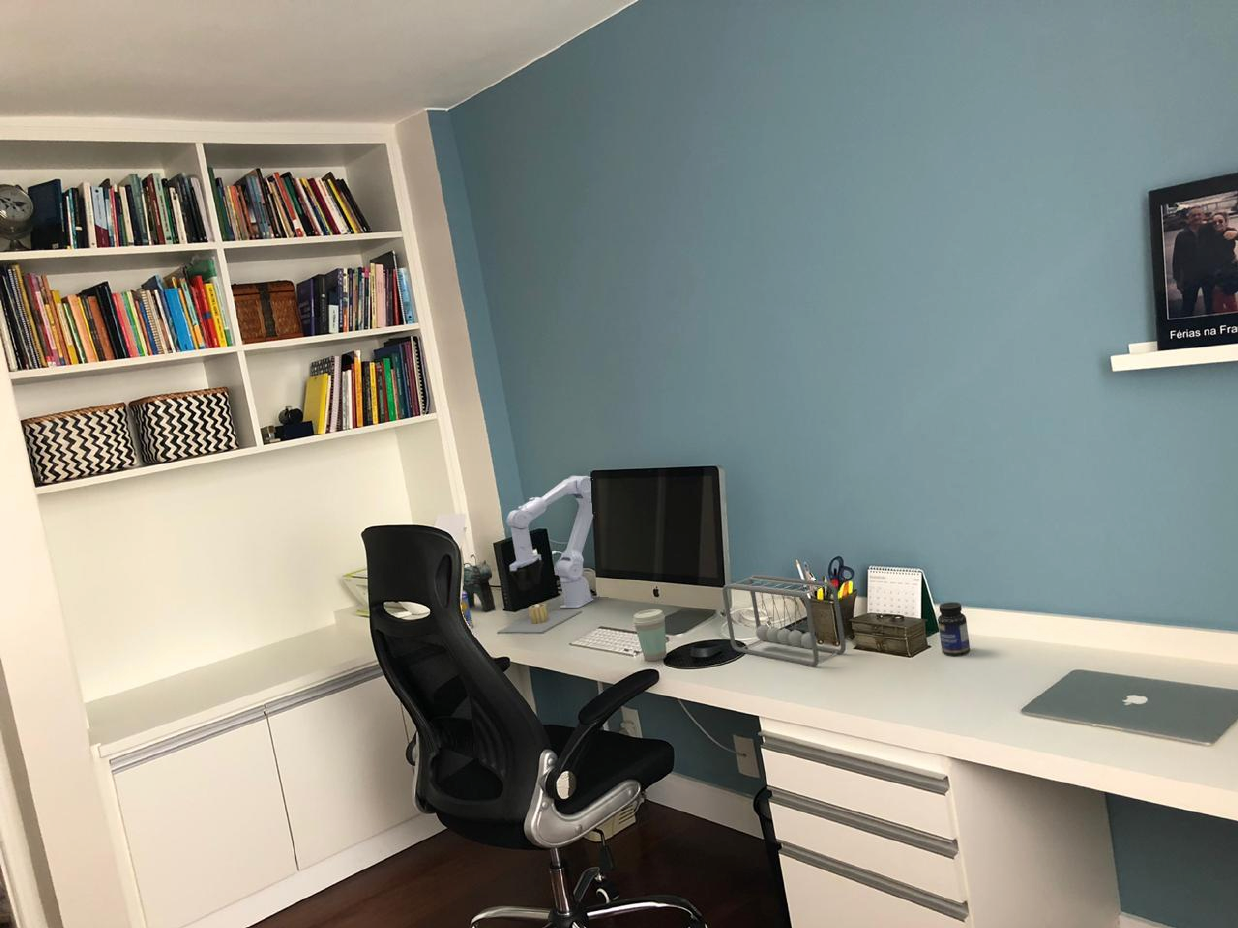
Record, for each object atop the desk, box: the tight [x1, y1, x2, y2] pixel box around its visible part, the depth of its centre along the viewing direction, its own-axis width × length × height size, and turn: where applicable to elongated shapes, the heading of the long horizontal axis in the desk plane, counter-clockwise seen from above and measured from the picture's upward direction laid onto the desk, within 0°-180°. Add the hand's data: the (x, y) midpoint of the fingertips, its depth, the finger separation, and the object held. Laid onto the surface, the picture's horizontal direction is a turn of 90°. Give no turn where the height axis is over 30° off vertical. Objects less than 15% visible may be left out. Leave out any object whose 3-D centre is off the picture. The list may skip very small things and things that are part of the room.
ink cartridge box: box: [461, 591, 474, 629], centre depth 329 cm, size 10×6×14 cm, turn 107°
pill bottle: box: [937, 601, 971, 657], centre depth 224 cm, size 6×6×11 cm
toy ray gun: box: [463, 554, 496, 613], centre depth 354 cm, size 20×6×20 cm, turn 37°
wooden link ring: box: [528, 603, 549, 624], centre depth 319 cm, size 6×6×5 cm
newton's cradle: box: [722, 574, 847, 667], centre depth 245 cm, size 30×10×18 cm, turn 36°
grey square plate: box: [496, 604, 583, 635], centre depth 319 cm, size 22×18×6 cm
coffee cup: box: [632, 608, 667, 662], centre depth 260 cm, size 9×8×12 cm
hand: (529, 586), depth 327 cm, fingers open, 7 cm apart
